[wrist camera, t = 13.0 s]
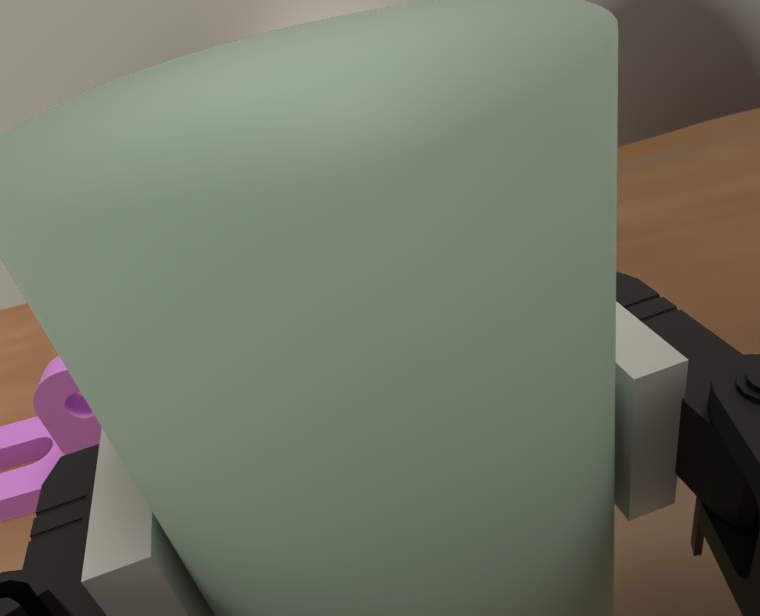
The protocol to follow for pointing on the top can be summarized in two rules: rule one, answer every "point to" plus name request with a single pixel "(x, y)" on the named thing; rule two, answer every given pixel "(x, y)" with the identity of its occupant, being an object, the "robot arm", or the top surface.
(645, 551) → the walnut base
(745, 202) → the top surface
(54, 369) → the bracket
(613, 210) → the green post
